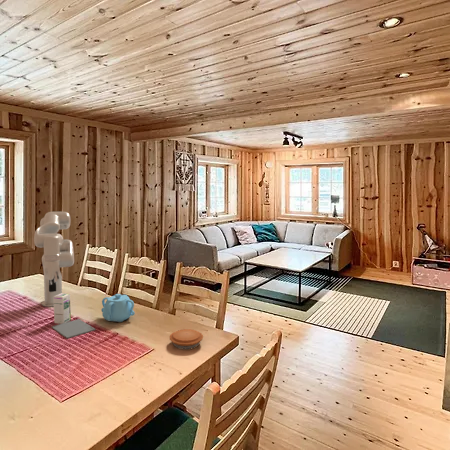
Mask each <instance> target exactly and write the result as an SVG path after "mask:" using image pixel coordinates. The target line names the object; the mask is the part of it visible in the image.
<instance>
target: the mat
mask: <svg viewBox="0 0 450 450" xmlns="http://www.w3.org/2000/svg"><path fill="white" fill-rule="evenodd" d="M51 328H52V329H53V330H55V331H56V332H57V333H58V334H60V335H61V336H62V337H64V338H65V339H71V338H74V337H77V336H81V335H84V334H87V333H90V332H93V331H96V328H95V327H93V326H91V325H90V324H88V323H87V322H85V321H83V320H81V319H80V318H78V319H74V320H70V321H68V322H66V323H63V324H56V325H52V326H51Z"/></svg>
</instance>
